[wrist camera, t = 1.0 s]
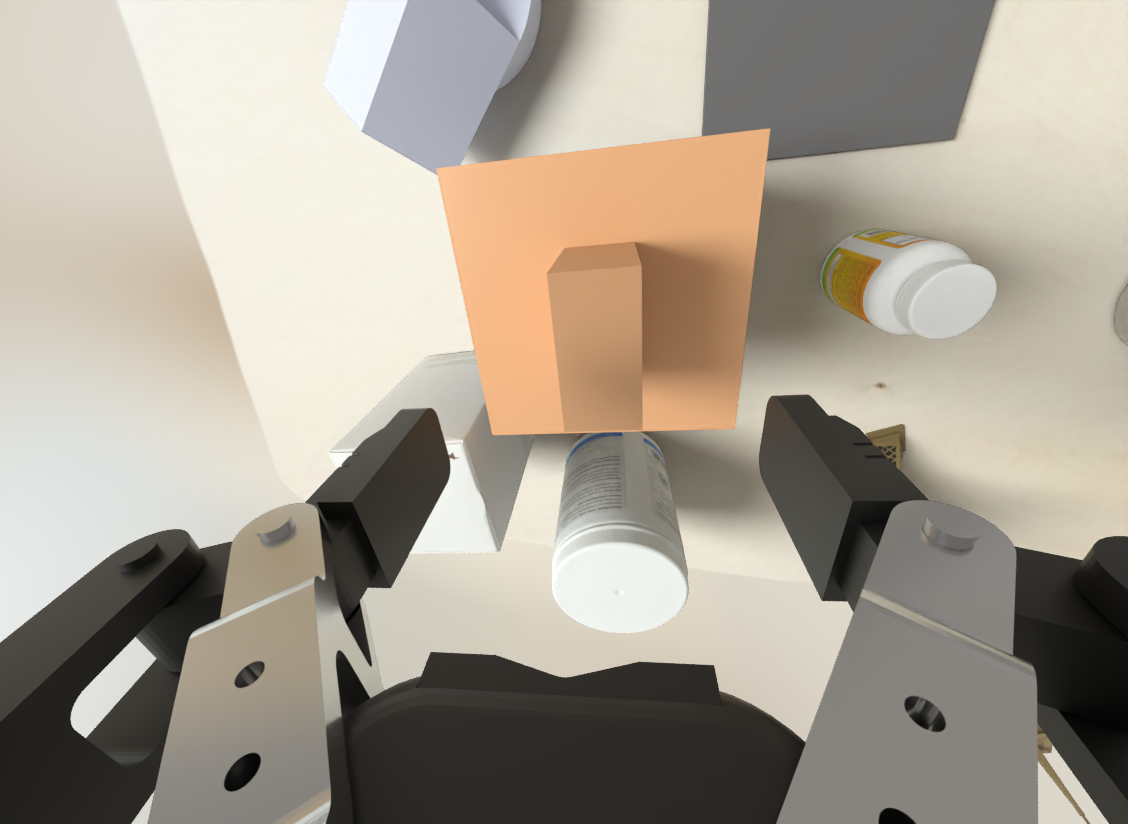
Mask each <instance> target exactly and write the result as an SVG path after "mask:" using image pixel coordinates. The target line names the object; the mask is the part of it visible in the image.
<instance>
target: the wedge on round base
mask: <svg viewBox="0 0 1128 824" xmlns="http://www.w3.org/2000/svg"><path fill="white" fill-rule="evenodd" d="M541 7H542V5H541V0H348V2H347V5H346V9H345V12H344V16H343V19H342V22H341V26H340V29H339V33H338V36H337V39H336V43H335V46H334V49H333V53H332V56H331V60H330V63H329V66H328V70H327V73H326V77H325V80H324V83H323V87H324V88H325V90H326V91H327V92H328V93H329V94H330V95H331V97H332V98H333V99H334V100H335V101H336V102H337V104H338V105H339V106H340V107H341V108H342V109H343V111H344V112H345V113H346V114H347V115H348V117H349V118H350V119H351V120H352V121H353V122H354V124H355V125H356V126H357V127H358V128H359V129H360V131H361V132H363V133H365V134H366V135H368V136H370V137H372V138H373V139H375V140H377V141H379V142H380V143H382V144H384V145H386V146H387V147H389V148H391V149H393V150H394V151H396V152H398V153H400V154H401V155H403V156H405V157H407V158H408V159H410V160H412V161H414V162H415V163H417V164H419V165H421V166H422V167H424V168H426V169H428V170H429V171H431V172H433V173H435V174H436V175H437V170H436V168H443V167H451V166H460V164H461V162H462V160H463V158H464V156H465V154H466V152H467V150H468V148H469V146H470V144H471V142H472V139H473V137H474V135H475V133H476V131H477V129H478V127H479V125H480V123H481V121H482V119H483V117H484V114H485V112H486V110H487V108H488V106H489V104H490V102H491V100H492V98H493V96H494V94H495V92H496V90H498V89H500V88H502V87H504V86H505V85H507V84H508V83H509V82H511V81H512V80H513V79H514V78H515V77H516V76H517V75H518V74H519V72H520V71H521V70H522V68H523V67H524V66H525V64H526V62H527V60H528V59H529V57H530V55H531V52H532V50H533V48H534V45H535V42H536V39H537V35H538V31H539V26H540V20H541Z"/></svg>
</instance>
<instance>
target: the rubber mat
mask: <svg viewBox="0 0 1128 824" xmlns="http://www.w3.org/2000/svg"><path fill="white" fill-rule="evenodd" d="M993 4H994V0H709V11H708V30H707V49H706V68H705V87H704V106H703V125H702V136H710V135H718V134H726V133H735V132H743V131H751V130H760V129H768V128H770V136H769V144H768V153H767V160H768V159H777V158H786V157H795V156H804V155H813V154H822V153H831V152H840V151H849V150H858V149H867V148H876V147H886V146H895V145H904V144H913V143H922V142H931V141H940V140H949V139H954V135H955V132H956V128H957V125H958V122H959V118H960V115H961V112H962V108H963V105H964V101H965V98H966V95H967V91H968V88H969V85H970V81H971V78H972V75H973V71H974V68H975V64H976V61H977V58H978V54H979V51H980V48H981V44H982V41H983V37H984V34H985V31H986V27H987V24H988V21H989V17H990V14H991V11H992V7H993Z"/></svg>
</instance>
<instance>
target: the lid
mask: <svg viewBox="0 0 1128 824" xmlns="http://www.w3.org/2000/svg"><path fill="white" fill-rule="evenodd" d="M769 136H770V128H768V129H760V130H751V131H743V132H735V133H726V134H718V135H710V136H701V137H693V138H685V139H676V140H668V141H660V142H651V143H643V144H635V145H626V146H618V147H610V148H601V149H593V150H585V151H576V152H568V153H560V154H551V155H543V156H535V157H526V158H518V159H510V160H501V161H493V162H485V163H476V164H468V165H460V166H451V167H443V168H436V170H437V175H438V180H439V184H440V189H441V194H442V199H443V203H444V208H445V213H446V218H447V222H448V227H449V232H450V237H451V241H452V246H453V251H454V256H455V260H456V265H457V270H458V274H459V279H460V284H461V289H462V293H463V298H464V303H465V308H466V312H467V317H468V322H469V327H470V331H471V336H472V341H473V345H474V350H475V355H476V360H477V364H478V369H479V374H480V379H481V383H482V388H483V393H484V398H485V402H486V407H487V412H488V417H489V421H490V426H491V431H492V435H521V434H560V433H598V432H637V431H675V430H714V429H735V424H736V416H737V407H738V399H739V390H740V382H741V373H742V365H743V356H744V348H745V339H746V331H747V322H748V314H749V306H750V297H751V289H752V280H753V272H754V263H755V255H756V246H757V238H758V229H759V221H760V212H761V204H762V195H763V187H764V178H765V170H766V161H767V153H768V144H769Z"/></svg>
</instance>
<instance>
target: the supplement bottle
mask: <svg viewBox="0 0 1128 824" xmlns="http://www.w3.org/2000/svg"><path fill="white" fill-rule="evenodd" d="M820 283H821V287H822V290H823V292H824V294H825V296H826V297H827V298H828V299H829V300H830V301H832V302H833V303H835V304H836V305H838V306H840V307H841V308H843V309H845V310H847V311H849V312H850V313H852V314H854V315H856V316H857V317H859V318H861V319H863V320H864V321H866V322H868V323H870V324H871V325H873V326H875V327H877V328H879V329H881V330H883V331H885V332H888V333H891V334H896V335H911V334H918V335H920V336H922V337H924V338H928V339H945V338H950V337H953V336H956V335H959V334H961V333H963V332H965V331H967V330H969V329H970V328H972V327H973V326H974V325H976V324H977V323H978V322H979V321H980V320H981V319H982V318H983V317H984V316H985V315H986V314H987V313H988V311H989V310H990V308H991V306H992V305H993V302H994V300H995V297H996V292H997V284H996V280H995V278H994V276H993V274H992V273H991V272H990V271H989V270H988V269H986V268H985V267H983V266H980V265H977V264H974V263H972V260H971V259H970V257H969V256H968V254H967V253H966V252H965V251H964V250H962V249H961V248H959V247H957V246H955V245H953V244H950V243H947V242H944V241H939V240H934V239H929V238H924V237H918V236H913V235H909V234H903V233H898V232H893V231H888V230H881V229H867V230H862V231H859V232H856V233H854V234H851V235H850V236H848V237H846V238H845V239H843V240H842V241H841V242H839V243H838V244H837V245H836V246H835V247H834V248H833V249H832V250H831V252H830V253H829V254H828V256H827V258H826V259H825V261H824V263H823V266H822V269H821V274H820Z"/></svg>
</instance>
